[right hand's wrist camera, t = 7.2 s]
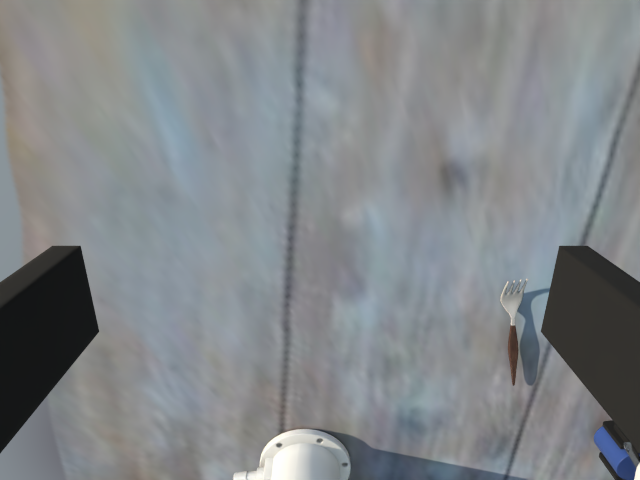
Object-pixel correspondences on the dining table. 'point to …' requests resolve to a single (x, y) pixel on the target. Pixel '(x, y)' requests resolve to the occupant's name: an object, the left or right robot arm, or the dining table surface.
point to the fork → (512, 322)
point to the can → (615, 455)
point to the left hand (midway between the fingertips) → (613, 438)
